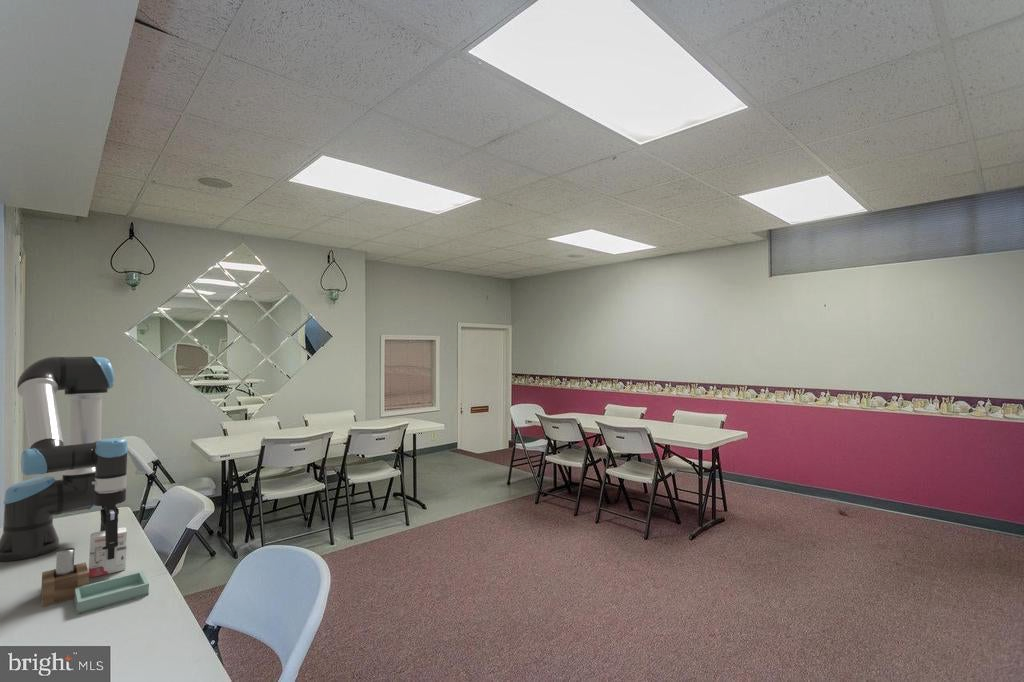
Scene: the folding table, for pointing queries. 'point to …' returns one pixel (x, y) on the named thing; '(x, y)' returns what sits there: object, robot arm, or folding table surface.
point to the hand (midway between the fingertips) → (107, 563)
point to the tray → (110, 592)
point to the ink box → (98, 553)
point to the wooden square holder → (62, 584)
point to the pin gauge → (65, 562)
